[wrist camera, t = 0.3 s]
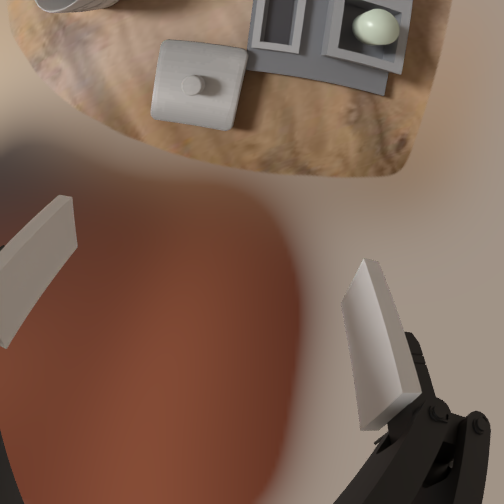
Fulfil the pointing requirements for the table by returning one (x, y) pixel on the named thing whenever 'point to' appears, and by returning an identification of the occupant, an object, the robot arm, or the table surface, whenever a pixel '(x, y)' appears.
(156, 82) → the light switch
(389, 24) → the sage button
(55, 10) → the mug
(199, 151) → the table surface
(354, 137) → the table surface
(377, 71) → the panel
